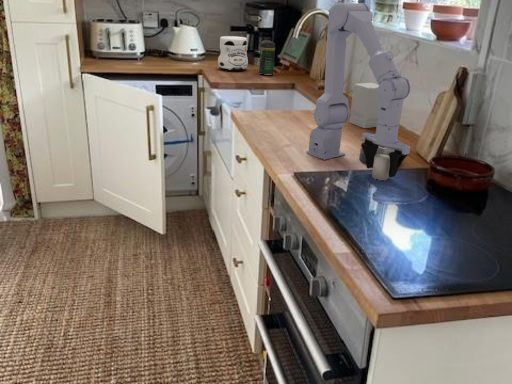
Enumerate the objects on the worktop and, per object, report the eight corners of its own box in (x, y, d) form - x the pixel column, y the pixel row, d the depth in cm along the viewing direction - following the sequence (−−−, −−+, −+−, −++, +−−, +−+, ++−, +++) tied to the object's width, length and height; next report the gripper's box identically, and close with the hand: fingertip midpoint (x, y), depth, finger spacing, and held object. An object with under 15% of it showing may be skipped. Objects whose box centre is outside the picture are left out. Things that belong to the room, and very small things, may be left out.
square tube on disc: (382, 170, 141) (385, 152, 138) (351, 158, 149) (353, 141, 147) (408, 163, 148) (411, 145, 145) (376, 152, 156) (378, 135, 154)
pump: (381, 181, 133) (384, 160, 130) (368, 176, 136) (371, 156, 133) (394, 177, 136) (397, 156, 134) (381, 172, 139) (384, 152, 137)
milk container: (237, 73, 275) (238, 40, 268) (211, 69, 283) (212, 37, 276) (253, 69, 289) (254, 38, 282) (228, 66, 297) (229, 35, 290)
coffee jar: (274, 76, 272) (276, 41, 264) (260, 76, 271) (262, 41, 263) (271, 73, 281) (273, 39, 273) (257, 73, 279) (259, 39, 272)
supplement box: (382, 126, 185) (388, 86, 179) (364, 128, 181) (369, 88, 175) (366, 120, 192) (371, 82, 186) (348, 122, 188) (353, 83, 182)
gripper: (420, 128, 127) (411, 177, 132) (376, 115, 137) (369, 161, 142) (403, 132, 123) (395, 182, 128) (359, 118, 133) (353, 166, 138)
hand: (380, 171), depth 135 cm, fingers open, 7 cm apart
